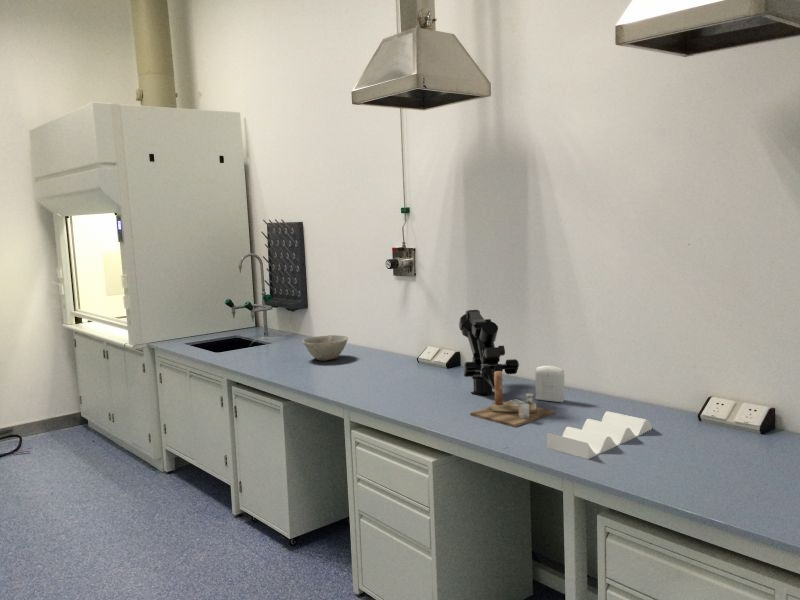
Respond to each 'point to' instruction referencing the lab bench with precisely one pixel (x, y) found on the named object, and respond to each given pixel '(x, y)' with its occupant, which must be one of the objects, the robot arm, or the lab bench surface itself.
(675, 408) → the lab bench surface
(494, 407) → the ash crank
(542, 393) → the white arched upright block
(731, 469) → the lab bench surface
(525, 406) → the pintle and keeper
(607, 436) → the white wavy rack
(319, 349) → the ceramic bowl
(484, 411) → the walnut board
